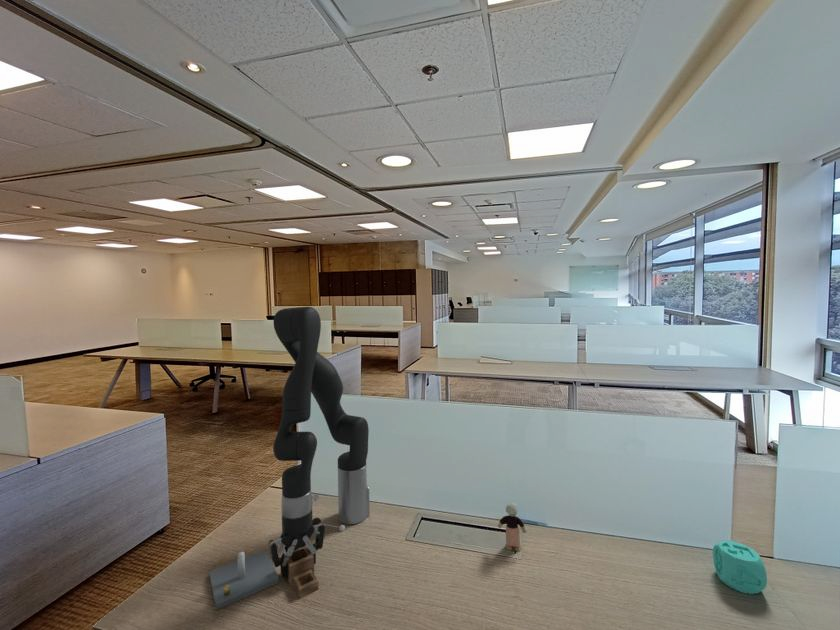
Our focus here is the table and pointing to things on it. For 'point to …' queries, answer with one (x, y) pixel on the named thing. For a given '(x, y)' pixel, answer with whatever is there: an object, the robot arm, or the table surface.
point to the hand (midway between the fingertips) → (298, 571)
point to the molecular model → (317, 520)
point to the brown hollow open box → (302, 571)
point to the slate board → (242, 578)
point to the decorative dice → (739, 567)
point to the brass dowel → (226, 589)
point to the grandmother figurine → (512, 527)
